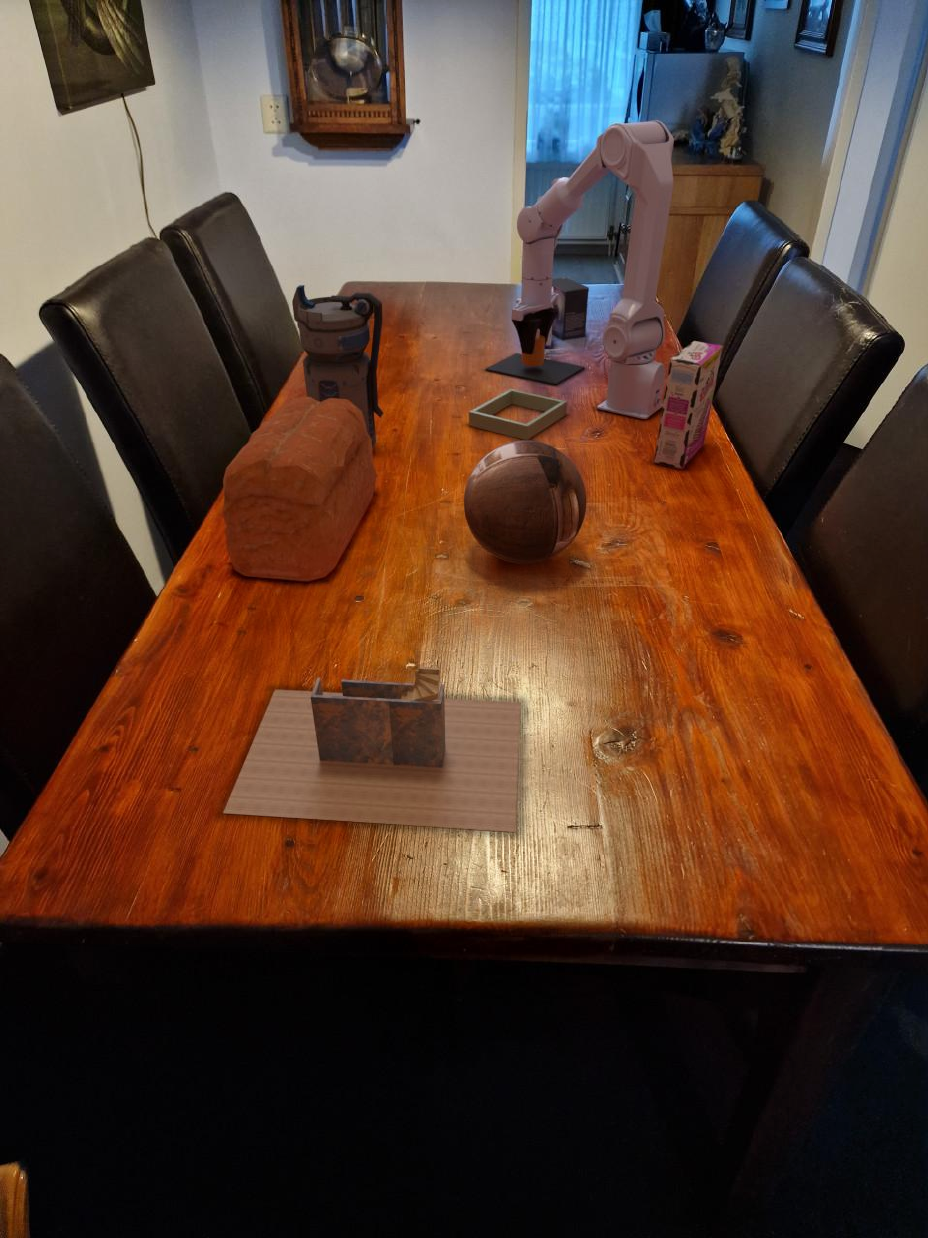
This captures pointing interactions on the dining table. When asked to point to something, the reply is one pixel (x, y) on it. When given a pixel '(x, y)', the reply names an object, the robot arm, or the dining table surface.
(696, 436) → the candy bar box
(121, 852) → the dining table surface
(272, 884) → the dining table surface
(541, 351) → the bottle
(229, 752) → the dining table surface
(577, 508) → the wooden sphere
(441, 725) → the architectural model on board
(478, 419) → the square frame
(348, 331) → the grenade canister
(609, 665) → the dining table surface
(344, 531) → the bread
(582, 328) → the small box
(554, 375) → the mat
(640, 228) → the robot arm
